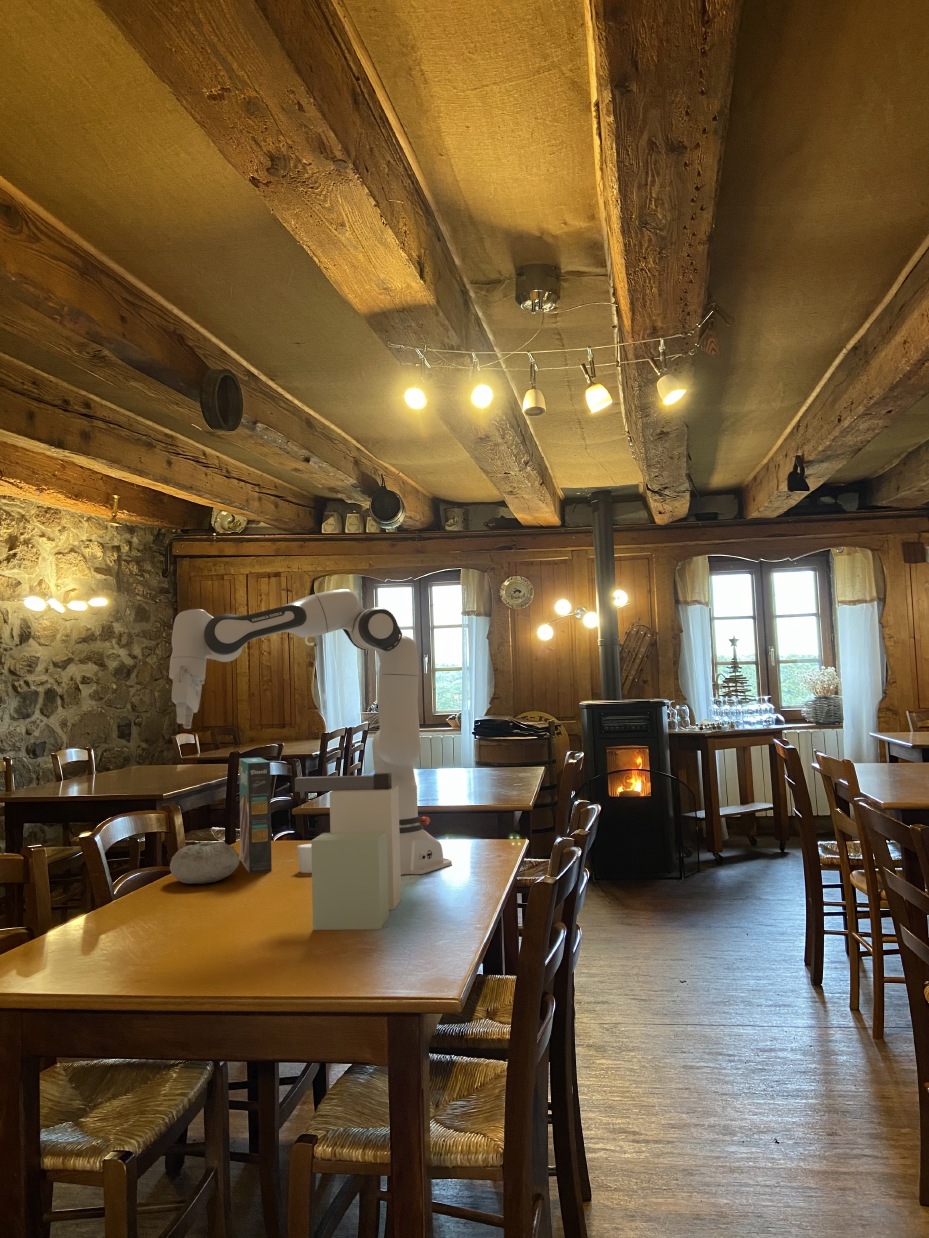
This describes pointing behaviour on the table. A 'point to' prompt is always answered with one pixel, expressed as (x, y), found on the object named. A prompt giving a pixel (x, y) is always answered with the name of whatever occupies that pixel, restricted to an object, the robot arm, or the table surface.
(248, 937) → the table surface
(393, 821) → the tall post
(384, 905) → the low post
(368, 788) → the metal bar
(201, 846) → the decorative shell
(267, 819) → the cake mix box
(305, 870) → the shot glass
